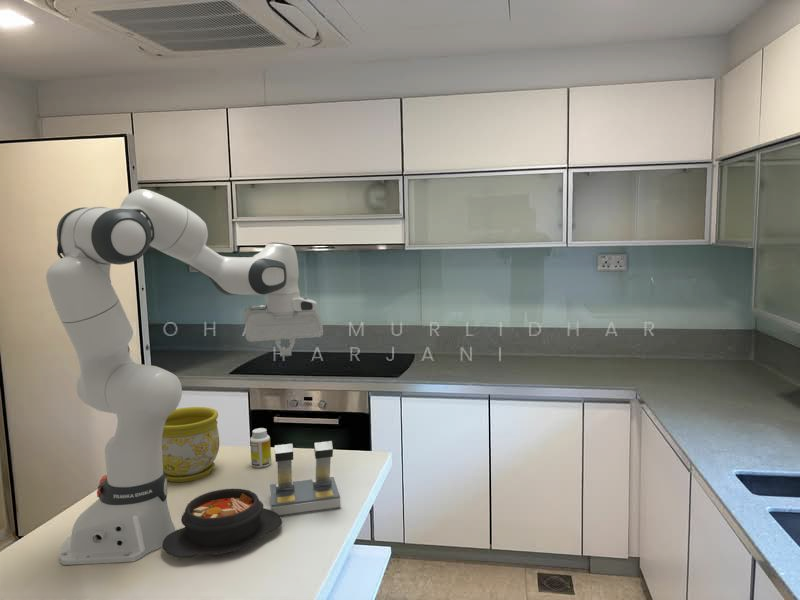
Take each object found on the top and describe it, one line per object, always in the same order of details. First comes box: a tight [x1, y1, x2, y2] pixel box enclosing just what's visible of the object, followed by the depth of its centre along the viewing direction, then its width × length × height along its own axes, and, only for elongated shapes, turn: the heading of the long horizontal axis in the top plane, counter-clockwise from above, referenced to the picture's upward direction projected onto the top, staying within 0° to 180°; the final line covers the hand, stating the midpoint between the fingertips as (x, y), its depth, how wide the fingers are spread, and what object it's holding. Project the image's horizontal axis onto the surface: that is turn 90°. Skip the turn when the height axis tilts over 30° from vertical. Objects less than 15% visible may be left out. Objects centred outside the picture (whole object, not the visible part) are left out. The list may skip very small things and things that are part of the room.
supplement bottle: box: [249, 427, 272, 469], centre depth 170 cm, size 6×6×10 cm
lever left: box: [274, 443, 295, 493], centre depth 141 cm, size 4×2×15 cm
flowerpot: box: [162, 406, 220, 483], centre depth 165 cm, size 18×18×16 cm
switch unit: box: [269, 476, 341, 517], centre depth 146 cm, size 16×12×3 cm
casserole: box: [162, 488, 283, 559], centre depth 129 cm, size 25×19×8 cm
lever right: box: [313, 440, 334, 488], centre depth 142 cm, size 4×2×15 cm
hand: (285, 355), depth 159 cm, fingers closed
